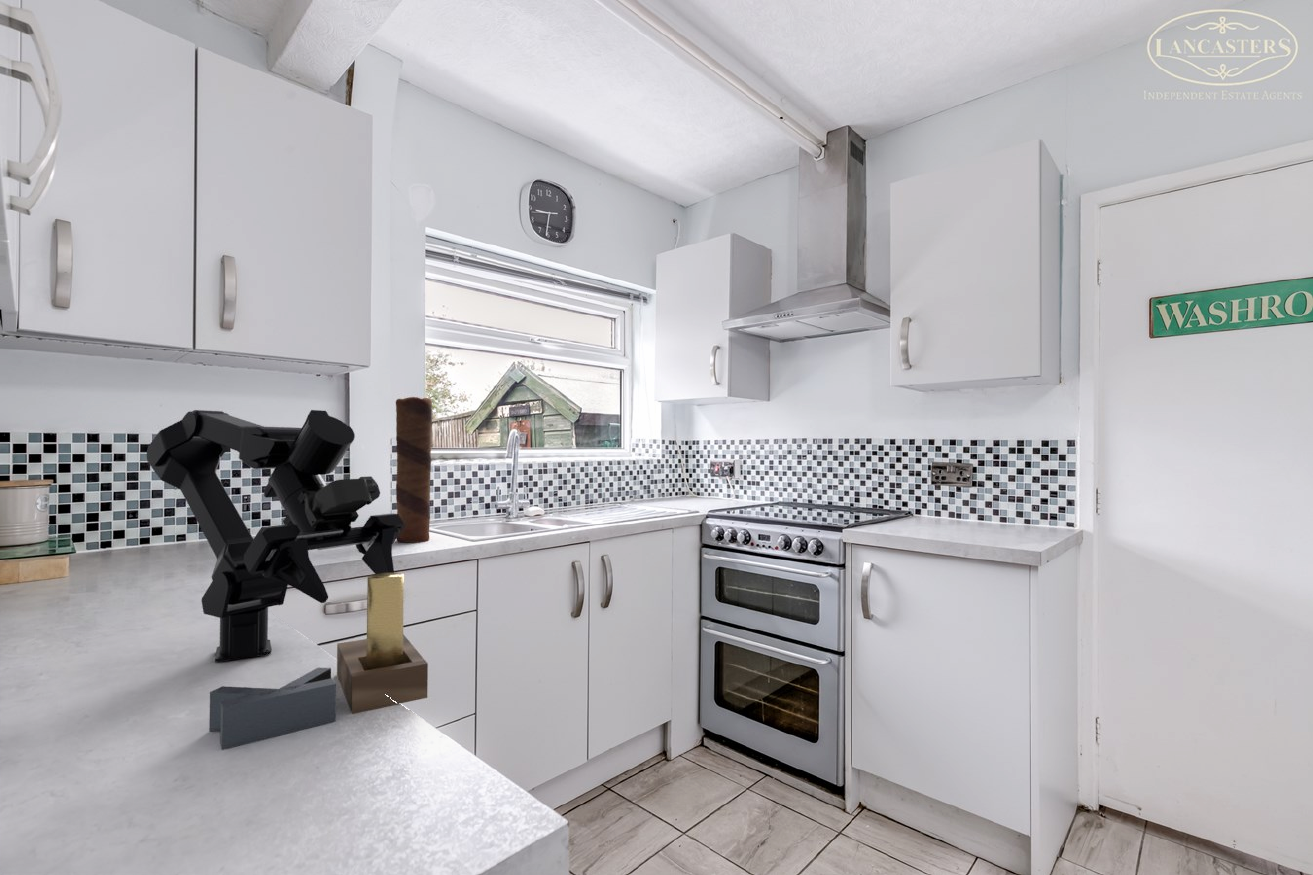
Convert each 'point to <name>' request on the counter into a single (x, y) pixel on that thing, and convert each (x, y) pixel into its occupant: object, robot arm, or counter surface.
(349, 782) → the counter surface
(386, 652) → the brass axle
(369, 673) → the wooden socket block
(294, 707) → the steel V-block
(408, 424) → the wafer roll
